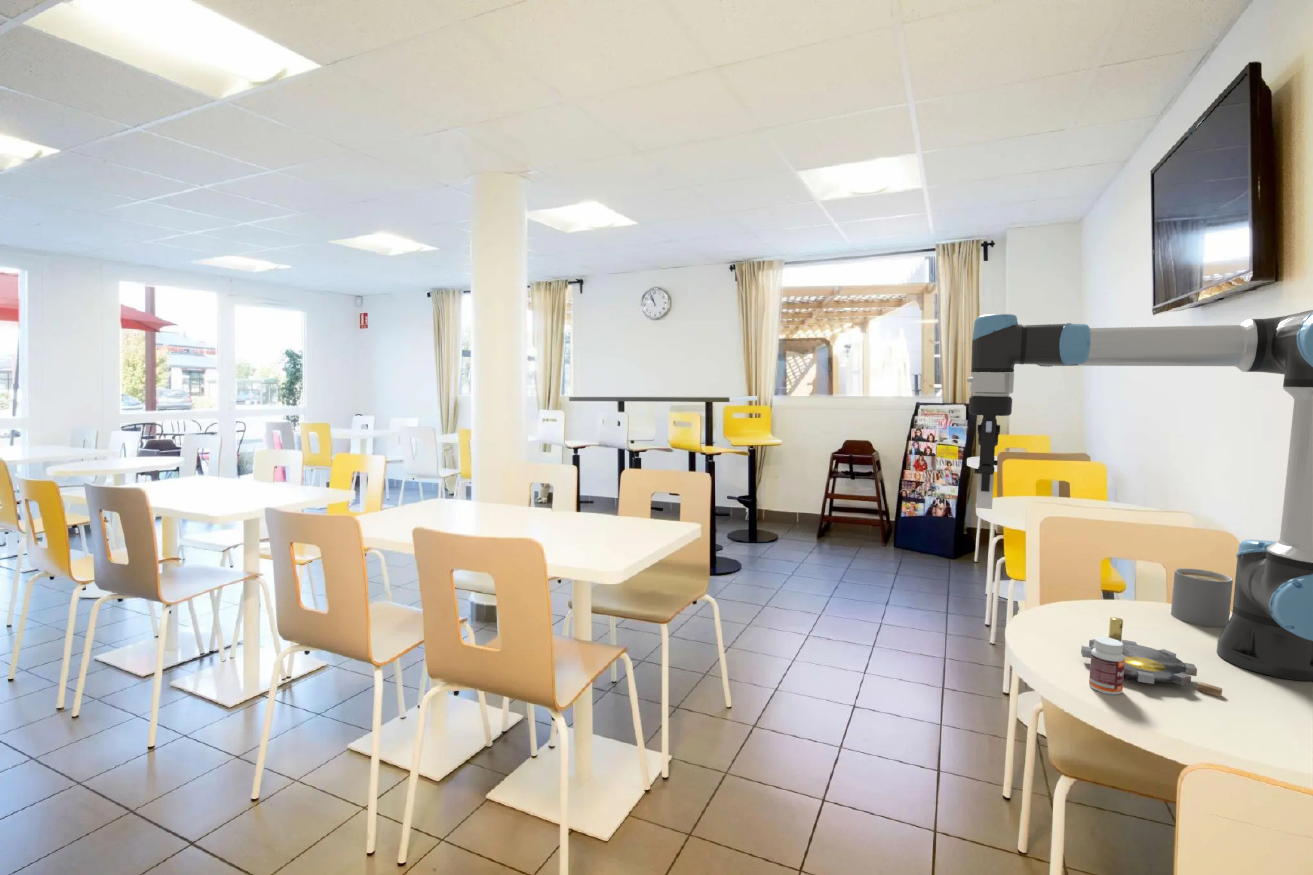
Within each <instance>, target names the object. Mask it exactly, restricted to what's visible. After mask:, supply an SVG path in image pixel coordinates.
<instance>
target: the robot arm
mask: <svg viewBox="0 0 1313 875" xmlns="http://www.w3.org/2000/svg"><path fill="white" fill-rule="evenodd" d="M972 333H973V334H972V339H971V340H972V341H971V362H970V363H971V366H970V375H971V377H967V379H966V382H967V383H971V384H970V385H969V386H970V389H969V392H970V393H972V394H973V395H970V397H969V401H968V413H969V414H970V415H973V416H982V419H981V423H978V424H977V434H978V435H977V436H978V437H977V440H978V441H977V444H978V446H980V447H979V461H978V462H979V463H978V464H979V465H978V468H974V471H973V472H974V474H977V485H976V500H975V501H976V502H975V508H977V509H986V510H988V509H989V510H992V509H993V498H994V497H993V496H994V483H995V482H994V479H995V470H996V469H995V466H998V462H999V461H998V460H995V452H996V451H995V450H996V449H995V448H996V446H998V444H999V435H1001V434H1000V433H1001V424H998V421H997V417H999V416H1000V417H1009V416H1011V415H1012V409H1013V398H1012V396H1010V394H1013V393H1014V384H1015V383H1014V382H1015V381H1014V380H1015V365H1037V366H1039V367H1044V368H1045V367H1048V368H1049V367H1076V366H1077V367H1080V366H1081V367H1083V366H1086V367H1093V366H1094V367H1095V366H1097V367H1100V366H1102V367H1103V366H1105V367H1107V366H1108V367H1111V366H1112V367H1236V368H1237V369H1238V370H1240V371H1241V372H1245V373H1268V374H1275V375H1276V374H1278V375H1279V374H1280V375H1284V376H1283V384H1282V389H1283V390H1284V391H1285V392H1287V393H1288V394H1289V395H1290V396H1291V397H1292V399H1293V401H1294V402H1293V409H1292V417H1291V418H1292V420H1291V428H1290V438H1289V448H1288V456H1287V467H1286V476H1285V477H1286V478H1285V488H1284V493H1283V494H1284V497H1283V505H1282V516H1281V525H1280V532H1279V533H1280V534H1279V539H1278V540H1277V541H1276V540H1265V539H1263V540H1262V539H1244V540H1242V541H1241V542H1240V543H1239V546H1238V551H1237V553H1236V556H1235V557H1236V566H1235V567H1236V570H1235V571H1236V572H1235V578H1234V580H1235V581H1234V590H1233V604H1232V613H1231V615H1230V617H1229V622H1228V623H1227V625H1226V626H1225V627H1224V628H1223V630H1222V631H1221V634H1220V635H1219V638H1218V639H1217V644H1216V653H1217V655H1218V656H1219V657H1221V659H1223V660H1224V661H1227V662H1228V663H1231V664H1232V665H1234V666H1238V667H1240V668H1242V669H1245V670H1248V671H1252V672H1255V673H1259V674H1263V675H1267V676H1270V677H1275V678H1281V679H1286V680H1287V679H1288V680H1295V681H1306V682H1309V681H1310V682H1311V681H1312V682H1313V309H1310V310H1306V311H1302V312H1298V313H1297V312H1296V313H1294V314H1293V313H1292V314H1287V315H1283V316H1277V317H1267V318H1249V319H1246V320H1244V321H1243V322H1242V323H1241V324H1225V325H1224V324H1223V325H1222V324H1220V325H1184V326H1183V325H1178V326H1177V325H1175V326H1171V325H1170V326H1166V325H1165V326H1134V327H1133V326H1131V327H1129V326H1126V327H1125V326H1124V327H1090V326H1089V325H1088V324H1084V323H1072V322H1067V323H1053V324H1051V323H1049V324H1046V323H1045V324H1028V325H1027V324H1019V321H1018V317H1017V315H1015V314H1012V313H1003V314H1002V313H995V314H994V313H993V314H983V315H980V316H978V317H976V319H975V320H974V324H973V332H972Z"/></svg>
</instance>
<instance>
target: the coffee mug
mask: <svg viewBox="0 0 1313 875" xmlns="http://www.w3.org/2000/svg"><path fill="white" fill-rule="evenodd" d="M1173 575H1174V576H1173V583H1172V584H1173V585H1172V586H1173V587H1172V598H1171V607H1170V608H1171V609H1170V615H1171V616H1172V617H1173V618H1175V619H1177V620H1180V621H1183V622H1186V623H1189V624H1191V625H1192V624H1193V625H1198V626H1202V627H1203V626H1204V627H1210V628H1225V627H1226V625H1227V623H1228V622H1229V620H1230V616H1231V614H1230V612H1231V604H1232V603H1231V601H1232V593H1233V584H1234V582H1233V578H1232V577H1231V576H1229V575H1226V574H1223V573H1222V572H1220V573H1219V572H1216V571H1212V570H1207V569H1206V570H1205V569H1199V568H1188V567H1187V568H1185V567H1184V568H1183V567H1182V568H1176V569H1175V570H1174V573H1173Z"/></svg>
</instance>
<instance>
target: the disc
mask: <svg viewBox="0 0 1313 875" xmlns="http://www.w3.org/2000/svg"><path fill="white" fill-rule="evenodd" d="M1123 625H1124V619H1122V618H1120V617H1115V616H1114V617H1113V616H1112V617H1110V618H1109V627H1108V638H1112V639H1115V640H1118V641H1120V642H1122V643H1123V652H1122V654H1123V655H1124V657H1125V665H1124V675H1127V676H1131V677H1135V678H1137V680H1136V681H1137V682H1139V683H1140V682H1141V683H1145V684H1146V683H1147V684H1152V685H1154V684H1155V682H1154V681H1162V682H1166V683H1167V682H1169V683H1170V682H1172V683H1175V684H1178V685H1179V686H1185V685H1189V684H1190V685H1191V682H1192V676H1193V677H1197V676H1198V675H1197V674H1198V668H1197V667H1196V666H1195V664H1194V663H1188V662H1183V661H1182V660H1181V659H1179V658H1178V657H1177V653H1175V652H1172V651H1170V650H1167V649H1164V648H1163V649H1156V648H1152V647H1148V646H1145V645H1140V644H1138V643H1137V642H1136V641H1131V640H1126V639H1123V638H1122V636H1123ZM1094 643H1095V638H1094V639H1089V644H1088V646H1084V645H1081V650H1080V653H1081V657H1082V658H1085V659H1086V658H1087V659H1091V651H1092V649H1093V648H1095V647H1094ZM1162 682H1161V683H1162Z"/></svg>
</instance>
